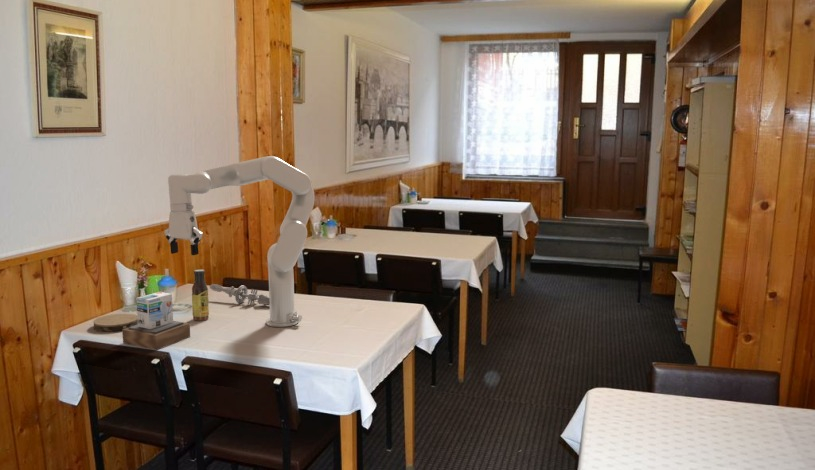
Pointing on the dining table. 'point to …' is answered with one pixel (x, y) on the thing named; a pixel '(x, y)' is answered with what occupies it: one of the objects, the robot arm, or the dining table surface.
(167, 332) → the walnut base
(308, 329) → the dining table surface
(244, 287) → the spaceship
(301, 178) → the robot arm
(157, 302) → the light bulb box
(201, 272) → the sauce bottle
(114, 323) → the round wood slice
